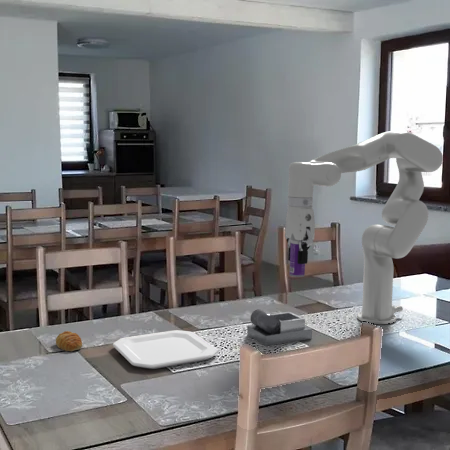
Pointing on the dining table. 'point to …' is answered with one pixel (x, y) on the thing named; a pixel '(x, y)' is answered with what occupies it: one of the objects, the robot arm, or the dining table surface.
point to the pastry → (68, 341)
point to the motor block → (277, 328)
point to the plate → (164, 349)
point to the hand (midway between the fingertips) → (297, 261)
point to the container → (295, 259)
